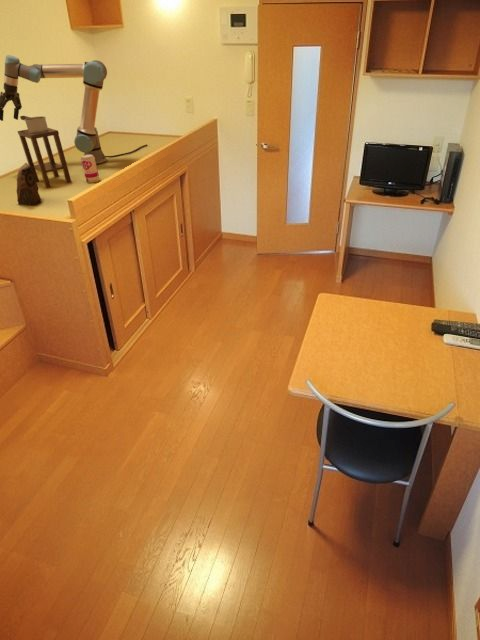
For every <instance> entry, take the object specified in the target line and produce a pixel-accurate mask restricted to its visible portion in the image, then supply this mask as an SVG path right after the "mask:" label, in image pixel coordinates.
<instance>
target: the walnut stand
mask: <svg viewBox="0 0 480 640" xmlns="http://www.w3.org/2000/svg"><path fill="white" fill-rule="evenodd" d="M17 135H18V136H19V140H20V143H21V145H22V148H23V153H24V155H25V158H26V161H27V164H28V165H30V166H31V168H32V169H33V170H32V171H33V175H34V176H35V179H36V182H37V183H38V182H40V180H39V176H38V173H37V171H38V172H39V173H40V174H41V177H42V181H43V183H44V186H45V188H46V189H49V188H51V187H52V185H51V183H50V179H49V176H48V173H51V172H52V175H53V177H54V178H58V177H60V175H59V172H58V171H59V170H60V171H61V170H62V171H63V176H64V180H65V182H66V183H67V184H69V183H72V178H71V175H70V172H69V171H70V170H69V167H68V164H67V161H66V157H65V156H66V155H65V152H64V149H63V146H62V142H61V139H60V133H59V130H57V129H53V128H51V127H48V131H46V132H42V133H29V131H28V128H27V129H22V130H17ZM51 136H53V139H54V142H55V146H56V150H57V154H58V157H59V161H60V163H57V162H55V161H56V160H55V157H54V154H53V150H52V147H51V144H50V140H49V137H51ZM26 138H27V139H30V141H31V145H32V148H33V151H34V154H35V158H36V161H37V164H35V163H34V160H33V158H32V154H31V151H30V148H29V144H28V141H27V139H26ZM41 138H42V140H43V144H44V147H45V150H46V154H47V157H48V162H44V159H43V156H42V153H41V149H40V146H39V142H38V139H41Z"/></svg>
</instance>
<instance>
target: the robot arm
mask: <svg viewBox="0 0 480 640" xmlns="http://www.w3.org/2000/svg"><path fill="white" fill-rule="evenodd" d="M3 75H4V77H3V82H4V83H3V90H4V92H3V91H0V121H1V122H4V108H5V107H6V105H7V103H8V102H10V101H11V102H12V104H13V106H14V109H13V119H14V120H17V121H18V120H19V114H20V110H22V108H23V107H22V102H21V98H20V93H19V92H18V88H19V87H18V86H19V78H22V79H24V80H26V81H27V80H28V81H29V82H31V83H36V84H38V83H40V81H41V79H69V78H70V79H72V78H73V79H74V78H75V79H76V78H79V79H80V78H83V79H82V85H84V93H83V101H82V108H81V116H80V124H79V126H78V127H77V129H76V136H75V138H74V140H73V142H74V146H75V148H76V149H77V150H78V152H81V153H83V155H89V154H91V155H93V156H94V157H95V161H96V165H100V164H104V163H106V162H107V158H115V157H120V156H124V155H125V156H126V155H130V154H132V153H135V152H137V151H139V150H140V149H142V148H144V147H147V146H148V144H147V143H146V144H143V145H141V146H139V147H137V148H136V149H134V150H132V151H128V152H123V153H119V154H114V155H105V153H104V152H103V150H102V147H101V142H100V137H99V132H98V129H97V127H95V125H96V120H97V119H96V118H97V111H98V104H99V97H100V91H102V90H103V86H104V80H105V79H107V76H108V70H107V67H106V65H105V64H104V62H102V61H100V60H96V59H94V60H91V61H84V62H83V63H55V64H53V63H52V64H51V63H49V64H47V63H46V64H38V63H34V64H32V65H27V64H24V63H21V61H20V58H19V57H17V56H14V55H11V54H7V55H6V56H5V61H4V74H3Z"/></svg>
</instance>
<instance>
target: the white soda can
mask: <svg viewBox="0 0 480 640" xmlns="http://www.w3.org/2000/svg"><path fill="white" fill-rule="evenodd" d="M80 162H81V165H82V170H83V174H84V177H85V182H87V183H89V184H92V183H97V182H99V181H100V180H101V179H100V175H99V170H98V166H97V164H96V161H95V157H94V156H93V155H91V154H89V155H84V154H83V155H81V156H80Z"/></svg>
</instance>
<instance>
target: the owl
mask: <svg viewBox="0 0 480 640" xmlns="http://www.w3.org/2000/svg"><path fill="white" fill-rule="evenodd" d="M32 170H33V169H32V168H31V166H30V165H29V164H28V162H24V164H22V165H21V166H20V167H19V170H17V171H18V172H17V175H16V177H17V178H16V198H17V199H16V201H17V204H18V205H22V206H32V207H33V206H37V205H39V204H41V203H42V201H41V200H42V199H41V196H40V193H39V190H40V189H39V186H38V182H36V179H35V176H34V175H33V171H32Z"/></svg>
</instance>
